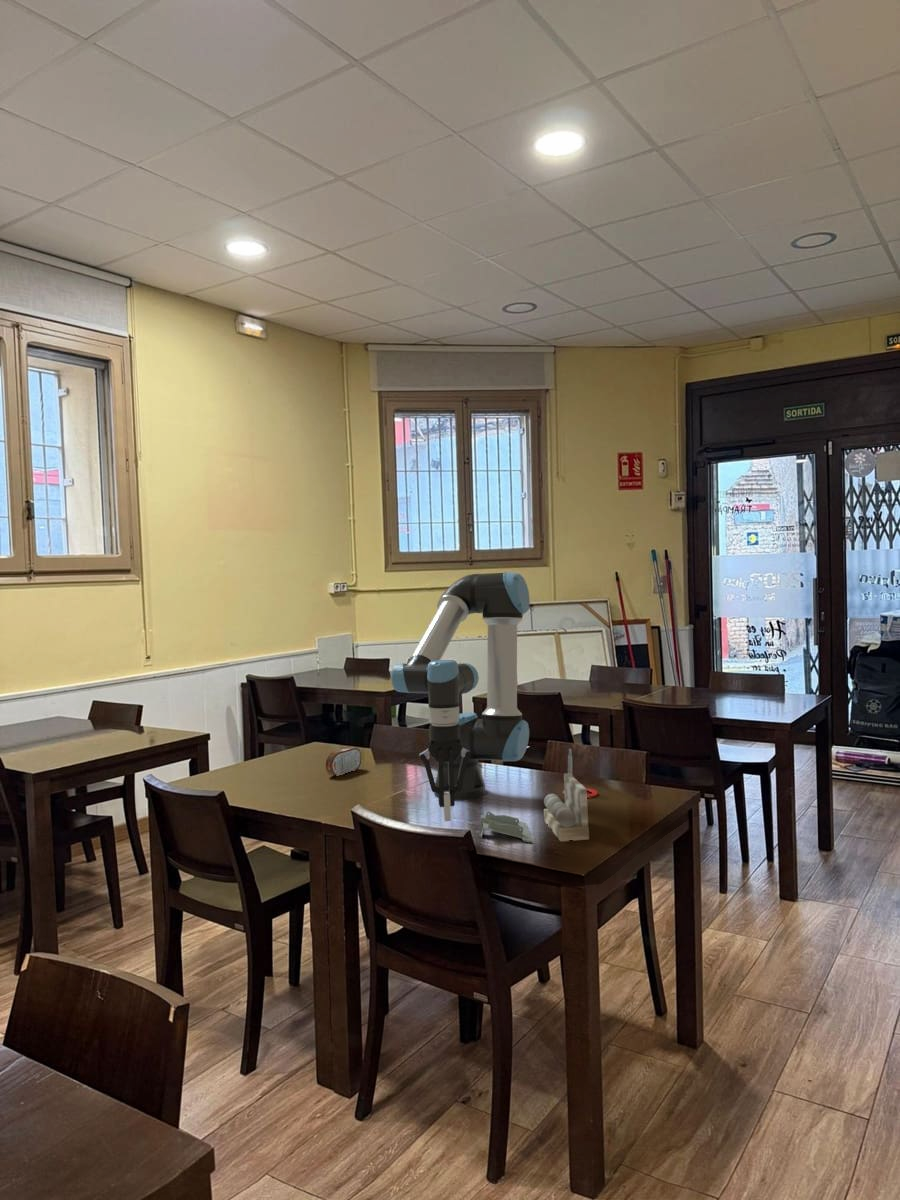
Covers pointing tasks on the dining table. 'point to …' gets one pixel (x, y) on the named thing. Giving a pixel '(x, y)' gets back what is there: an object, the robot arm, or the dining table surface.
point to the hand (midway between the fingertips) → (447, 819)
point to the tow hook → (572, 775)
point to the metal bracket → (505, 826)
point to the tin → (343, 760)
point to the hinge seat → (568, 811)
